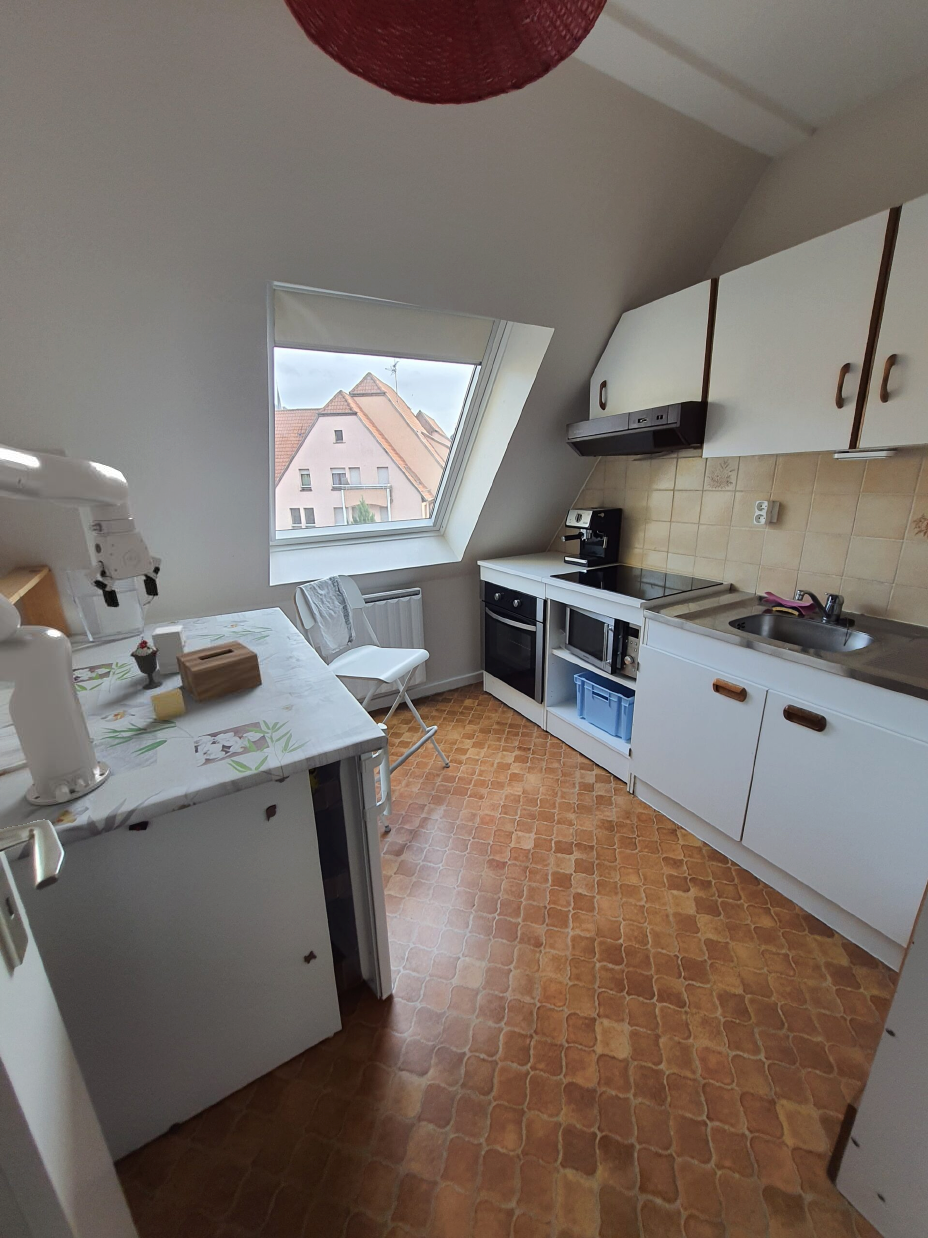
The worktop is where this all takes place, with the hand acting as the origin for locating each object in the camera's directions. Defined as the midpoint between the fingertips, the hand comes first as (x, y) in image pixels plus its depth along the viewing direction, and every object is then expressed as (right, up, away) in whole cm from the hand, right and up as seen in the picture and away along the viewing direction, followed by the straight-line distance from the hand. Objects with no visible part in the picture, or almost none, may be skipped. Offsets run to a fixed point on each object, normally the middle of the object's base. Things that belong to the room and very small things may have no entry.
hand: (133, 600), depth 112 cm
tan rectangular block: (+6, -28, +5) cm, 29 cm away
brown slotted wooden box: (+10, -23, +21) cm, 33 cm away
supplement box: (-10, -20, +34) cm, 40 cm away
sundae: (-10, -23, +22) cm, 34 cm away
